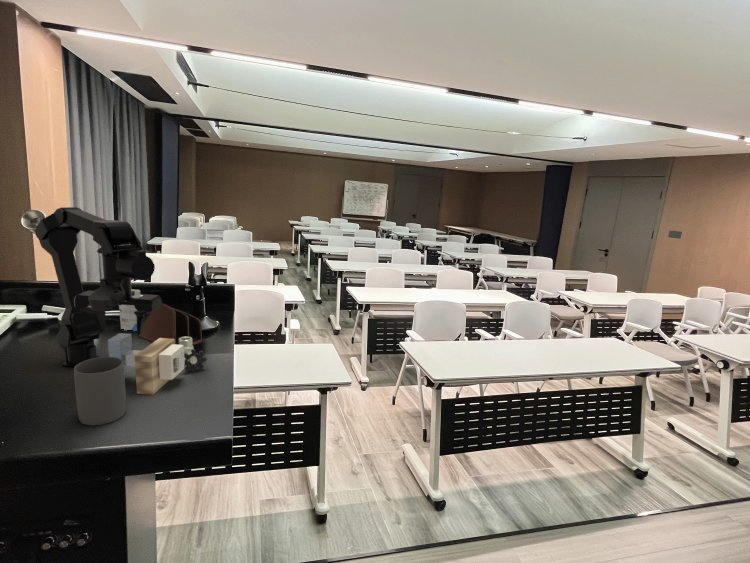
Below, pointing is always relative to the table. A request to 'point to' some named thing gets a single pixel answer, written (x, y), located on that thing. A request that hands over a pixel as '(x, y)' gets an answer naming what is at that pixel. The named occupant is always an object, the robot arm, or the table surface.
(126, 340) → the pale grey block
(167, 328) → the letter holder
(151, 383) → the wooden block
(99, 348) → the table surface
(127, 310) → the ink box
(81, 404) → the mug
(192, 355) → the valve
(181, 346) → the block
